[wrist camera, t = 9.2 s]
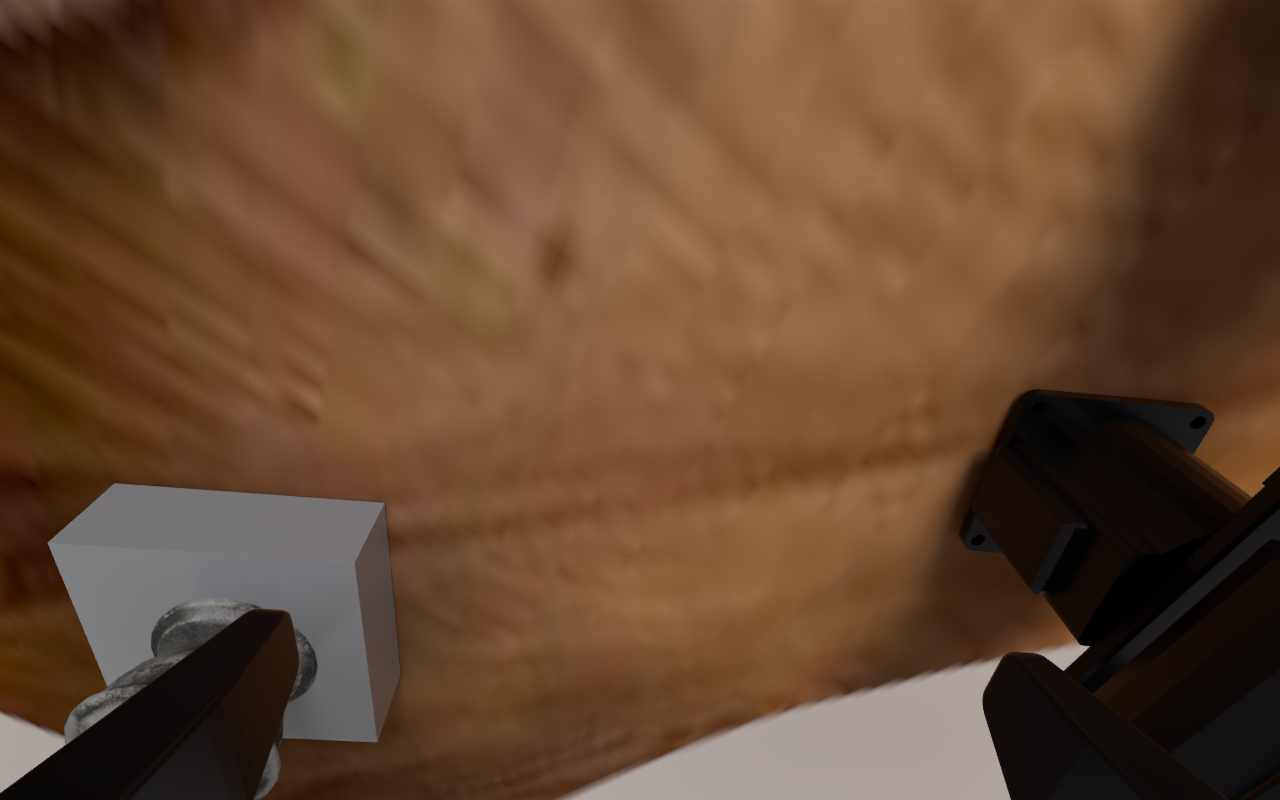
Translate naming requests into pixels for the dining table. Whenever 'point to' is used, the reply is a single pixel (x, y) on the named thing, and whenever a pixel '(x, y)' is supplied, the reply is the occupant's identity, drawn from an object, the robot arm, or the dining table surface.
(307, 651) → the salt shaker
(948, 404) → the dining table surface
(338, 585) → the rectangular block
